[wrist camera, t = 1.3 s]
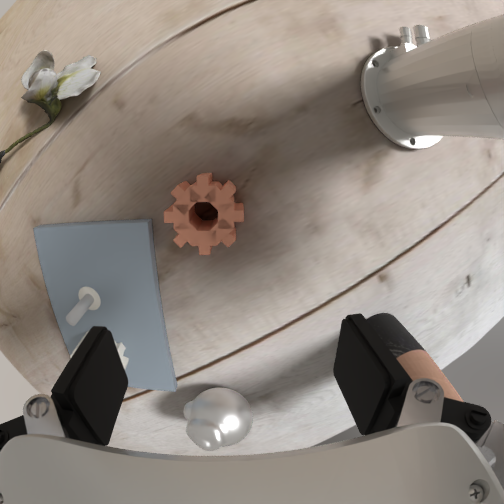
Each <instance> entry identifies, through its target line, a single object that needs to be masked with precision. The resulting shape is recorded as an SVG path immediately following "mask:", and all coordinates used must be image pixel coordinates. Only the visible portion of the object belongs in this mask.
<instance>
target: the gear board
mask: <svg viewBox="0 0 504 504" xmlns="http://www.w3.org/2000/svg"><path fill="white" fill-rule="evenodd" d="M33 229H34V235H35V241H36V246H37V251H38V256H39V260H40V264H41V269H42V273H43V277H44V281H45V284H46V288H47V291H48V295H49V298H50V301H51V305H52V308H53V311H54V314H55V317H56V320H57V323H58V325H59V328H60V331H61V334H62V336H63V339H64V341H65V344H66V346H67V349H68V351H69V354H70V355H71V354H72V352H73V351H74V349H75V348H76V346H77V345H78V343H79V342H80V340H81V339H82V338H83V336H84V335H85V334H86V332H87V331H88V330H90V329H91V328H92V327H93V326H105V327H106V328H107V329H108V330H110V331H111V333H112V336H113V339H114V340H115V342H116V343H120V342H122V343H123V345H124V346H125V348H126V349H125V351H124V354H123V356H125V357H127V358H129V361H128V364H127V367H126V369H125V372H126V375H127V377H128V387H134V388H142V389H151V390H161V391H173V392H176V388H177V381H176V377H175V372H174V368H173V363H172V359H171V354H170V349H169V344H168V338H167V333H166V327H165V322H164V316H163V310H162V303H161V297H160V290H159V283H158V275H157V267H156V258H155V249H154V239H153V227H152V219H135V220H112V221H92V222H75V223H60V224H46V225H39V226H37V227H35V228H33Z"/></svg>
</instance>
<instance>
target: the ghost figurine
mask: <svg viewBox="0 0 504 504" xmlns="http://www.w3.org/2000/svg"><path fill="white" fill-rule="evenodd" d="M183 414H184V416H185V418H186V419H187V420H188V424H187V427H186V432H187V434H188V436H189V438H190V439H191V440H192V441H193V442H194V443H195V444H196V445H197V446H199V447H200V448H202V449H204V450H207V451H214V450H217V449H219V448H220V447H224V446H231V445H234V444H236V443H238V442H240V441H241V440H243V439H244V438H245V437H246V436H247V434H248V433H249V431H250V429H251V427H252V423H253V413H252V409H251V406H250V405H249V403H248V401H247V400H246V399H245V398H244V397H243V396H242V395H241V394H239V393H238V392H236V391H234V390H231V389H228V388H212V389H208V390H206V391H204V392H202V393H200V394H199V395H198V396H197V397H196V398H195V399H194V400H193V401H190V402H188V403H186V404H185V406H184V411H183Z"/></svg>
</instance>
